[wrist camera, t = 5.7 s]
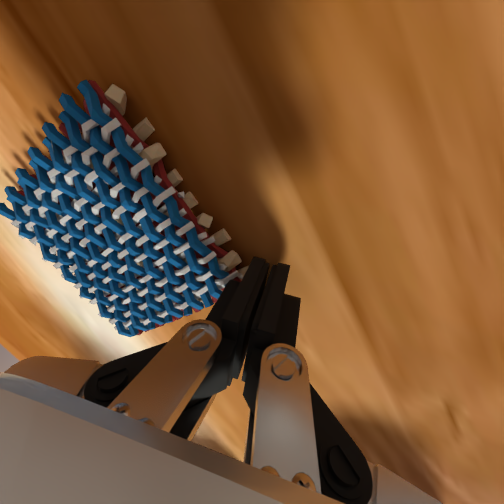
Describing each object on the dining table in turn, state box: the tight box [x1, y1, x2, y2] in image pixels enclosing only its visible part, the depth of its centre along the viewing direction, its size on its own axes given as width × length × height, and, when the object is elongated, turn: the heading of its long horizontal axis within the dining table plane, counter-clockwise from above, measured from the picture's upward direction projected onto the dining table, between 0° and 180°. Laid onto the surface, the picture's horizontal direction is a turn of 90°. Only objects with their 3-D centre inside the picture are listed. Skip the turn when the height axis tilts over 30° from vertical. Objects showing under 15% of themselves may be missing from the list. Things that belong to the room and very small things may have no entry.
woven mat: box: [0, 80, 249, 337], centre depth 12 cm, size 10×11×2 cm
